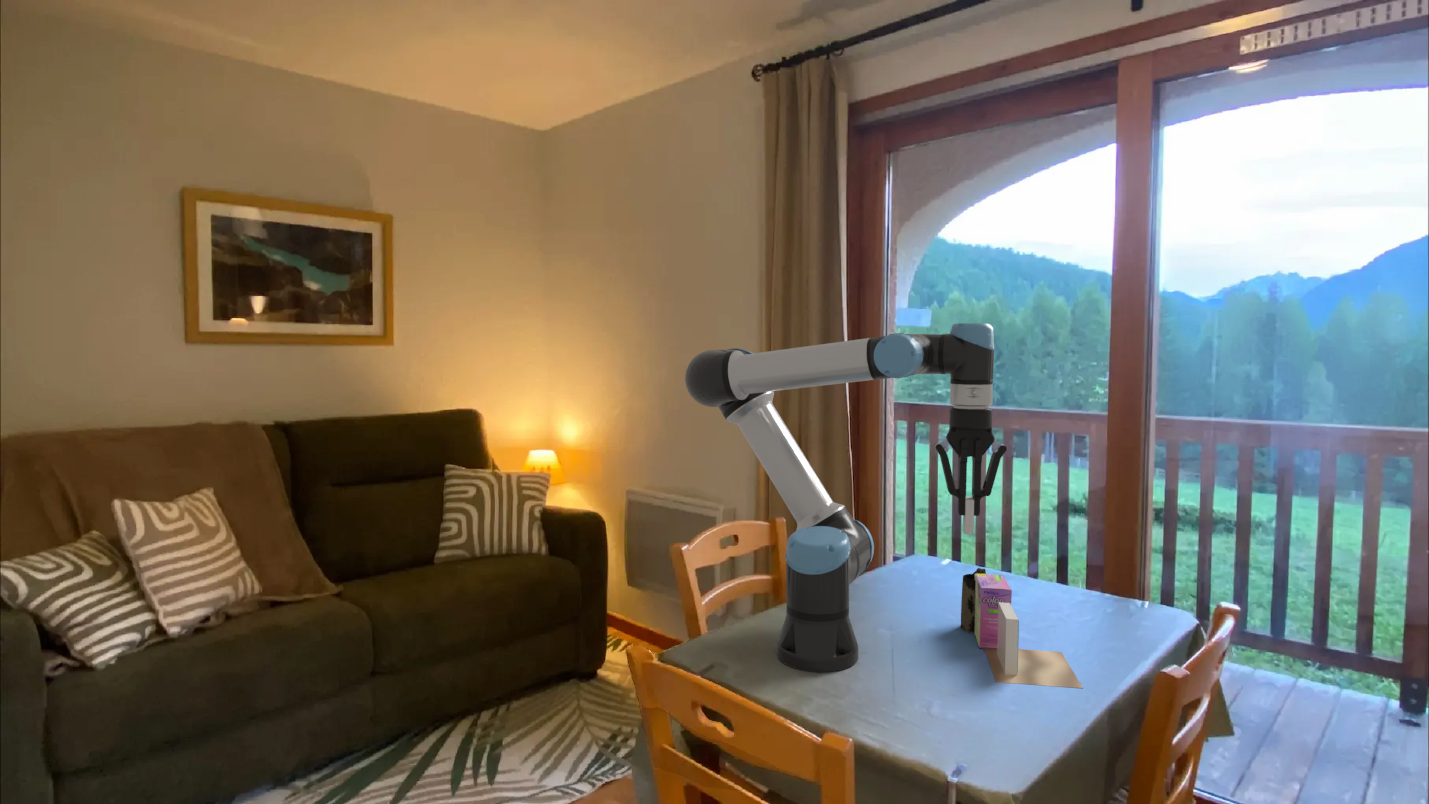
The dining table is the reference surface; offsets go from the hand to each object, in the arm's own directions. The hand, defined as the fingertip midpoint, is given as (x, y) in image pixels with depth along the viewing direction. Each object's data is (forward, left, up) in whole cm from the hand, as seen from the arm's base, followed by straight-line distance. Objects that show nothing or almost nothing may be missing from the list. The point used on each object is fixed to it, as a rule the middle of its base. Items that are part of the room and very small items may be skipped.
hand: (968, 532), depth 149 cm
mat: (+11, -6, -23) cm, 26 cm away
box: (+6, +6, -23) cm, 25 cm away
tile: (+7, -6, -23) cm, 24 cm away
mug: (+4, +13, -23) cm, 27 cm away
